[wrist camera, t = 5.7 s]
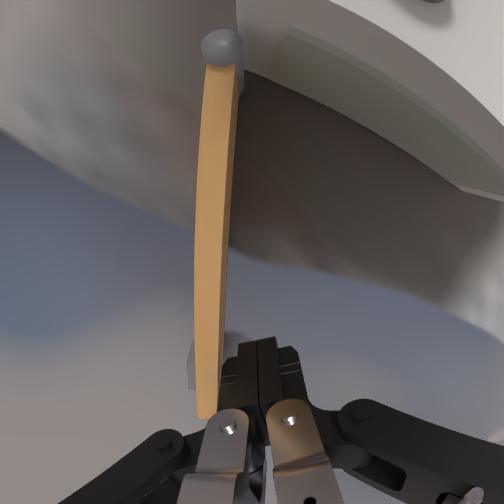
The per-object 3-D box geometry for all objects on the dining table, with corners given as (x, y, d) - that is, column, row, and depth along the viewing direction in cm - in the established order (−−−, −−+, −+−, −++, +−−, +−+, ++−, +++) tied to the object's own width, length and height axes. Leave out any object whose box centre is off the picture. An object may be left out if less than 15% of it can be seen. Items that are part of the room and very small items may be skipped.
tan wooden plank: (245, 75, 12) (245, 29, 7) (227, 352, 16) (221, 424, 11) (209, 74, 12) (189, 28, 7) (197, 349, 16) (182, 420, 11)
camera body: (308, -53, 9) (349, -159, 1) (512, 86, 11) (613, 81, 3) (237, 72, 12) (225, -46, 3) (478, 209, 14) (595, 258, 5)
